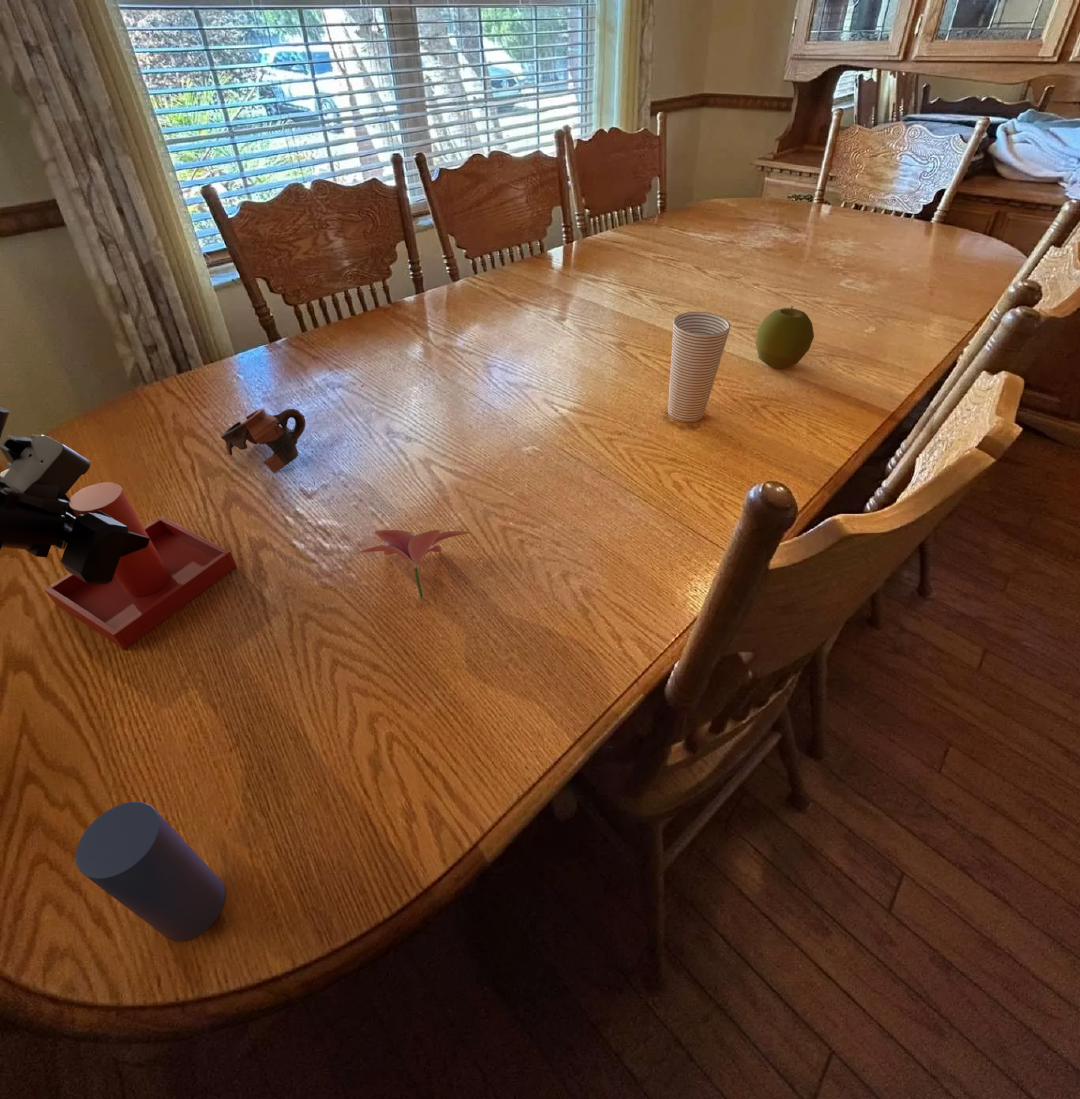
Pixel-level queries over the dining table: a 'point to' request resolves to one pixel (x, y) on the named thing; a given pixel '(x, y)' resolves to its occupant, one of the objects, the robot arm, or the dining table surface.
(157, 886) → the blue pin
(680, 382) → the cup
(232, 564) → the red tray
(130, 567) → the red pin
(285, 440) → the brown irregular piece
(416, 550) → the lily
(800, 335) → the apple
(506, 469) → the dining table surface
